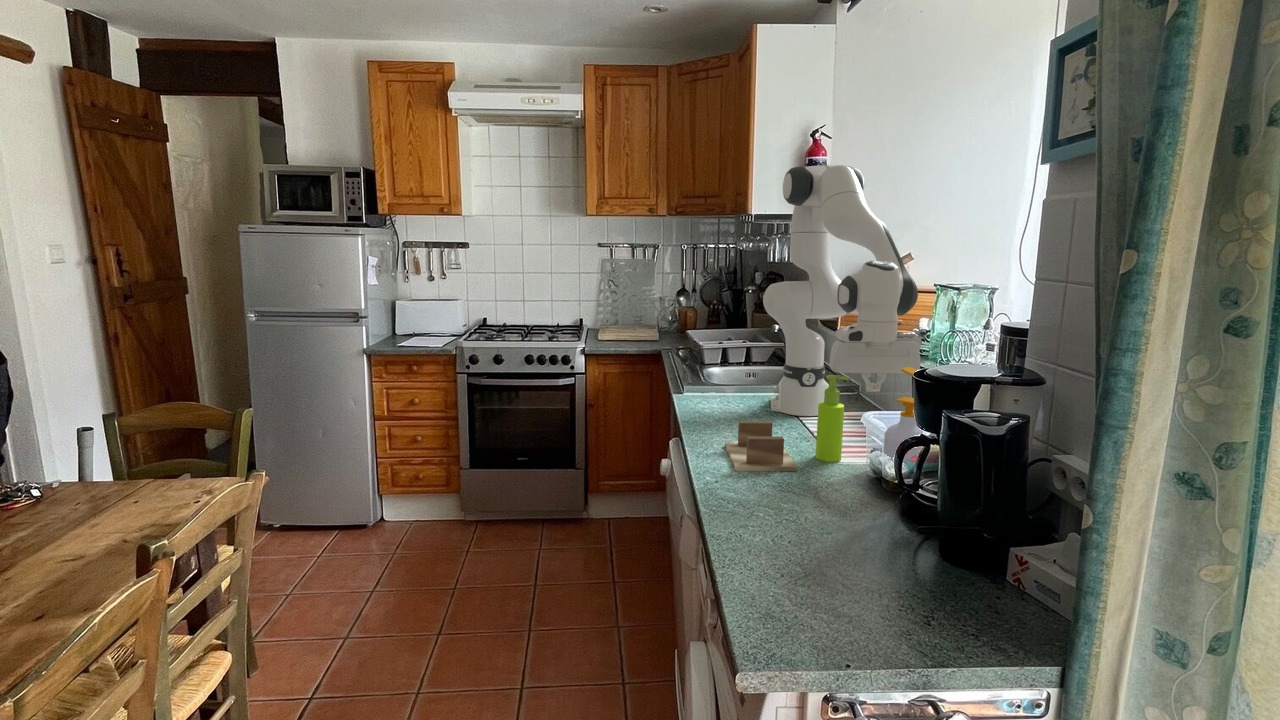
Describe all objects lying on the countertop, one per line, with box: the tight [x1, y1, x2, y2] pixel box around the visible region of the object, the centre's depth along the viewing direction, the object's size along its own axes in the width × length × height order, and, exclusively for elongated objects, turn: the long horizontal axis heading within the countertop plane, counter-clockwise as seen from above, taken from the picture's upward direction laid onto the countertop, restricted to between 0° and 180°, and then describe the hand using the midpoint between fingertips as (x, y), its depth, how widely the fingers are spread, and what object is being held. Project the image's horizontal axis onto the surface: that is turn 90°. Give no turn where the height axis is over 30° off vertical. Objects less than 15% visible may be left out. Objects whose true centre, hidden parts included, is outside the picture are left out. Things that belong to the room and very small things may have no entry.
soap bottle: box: [883, 367, 923, 462], centre depth 145 cm, size 9×9×25 cm
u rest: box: [724, 420, 799, 472], centre depth 160 cm, size 18×14×7 cm
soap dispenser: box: [815, 374, 852, 463], centre depth 159 cm, size 6×7×20 cm
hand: (872, 391), depth 158 cm, fingers closed
